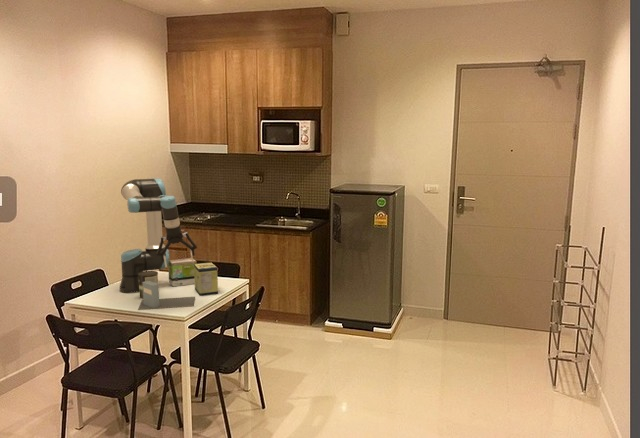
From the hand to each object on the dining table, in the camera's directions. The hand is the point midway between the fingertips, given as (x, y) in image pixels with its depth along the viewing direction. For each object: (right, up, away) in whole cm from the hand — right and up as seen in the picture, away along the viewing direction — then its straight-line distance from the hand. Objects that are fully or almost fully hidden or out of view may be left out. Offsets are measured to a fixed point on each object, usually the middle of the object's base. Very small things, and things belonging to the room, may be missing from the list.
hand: (179, 263), depth 263 cm
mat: (-7, -22, +3) cm, 23 cm away
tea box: (-10, -16, +44) cm, 48 cm away
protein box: (+8, -19, +27) cm, 34 cm away
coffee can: (-21, -20, +16) cm, 33 cm away
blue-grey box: (-15, -22, 0) cm, 26 cm away
